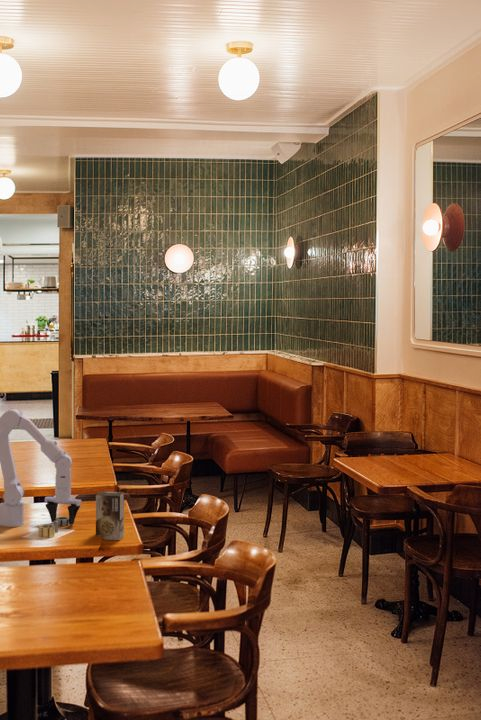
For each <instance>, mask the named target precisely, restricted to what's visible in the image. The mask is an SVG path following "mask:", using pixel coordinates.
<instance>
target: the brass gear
mask: <svg viewBox="0 0 481 720" xmlns="http://www.w3.org/2000/svg"><path fill="white" fill-rule="evenodd" d="M48 524H49V523H48ZM38 530H39V533H38V536H39V537H41V538H42V537H43V538H48V537H49V538H50V537H53V536H55V525H54V524H49V527H45V524H40V525H39V526H38Z"/></svg>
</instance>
